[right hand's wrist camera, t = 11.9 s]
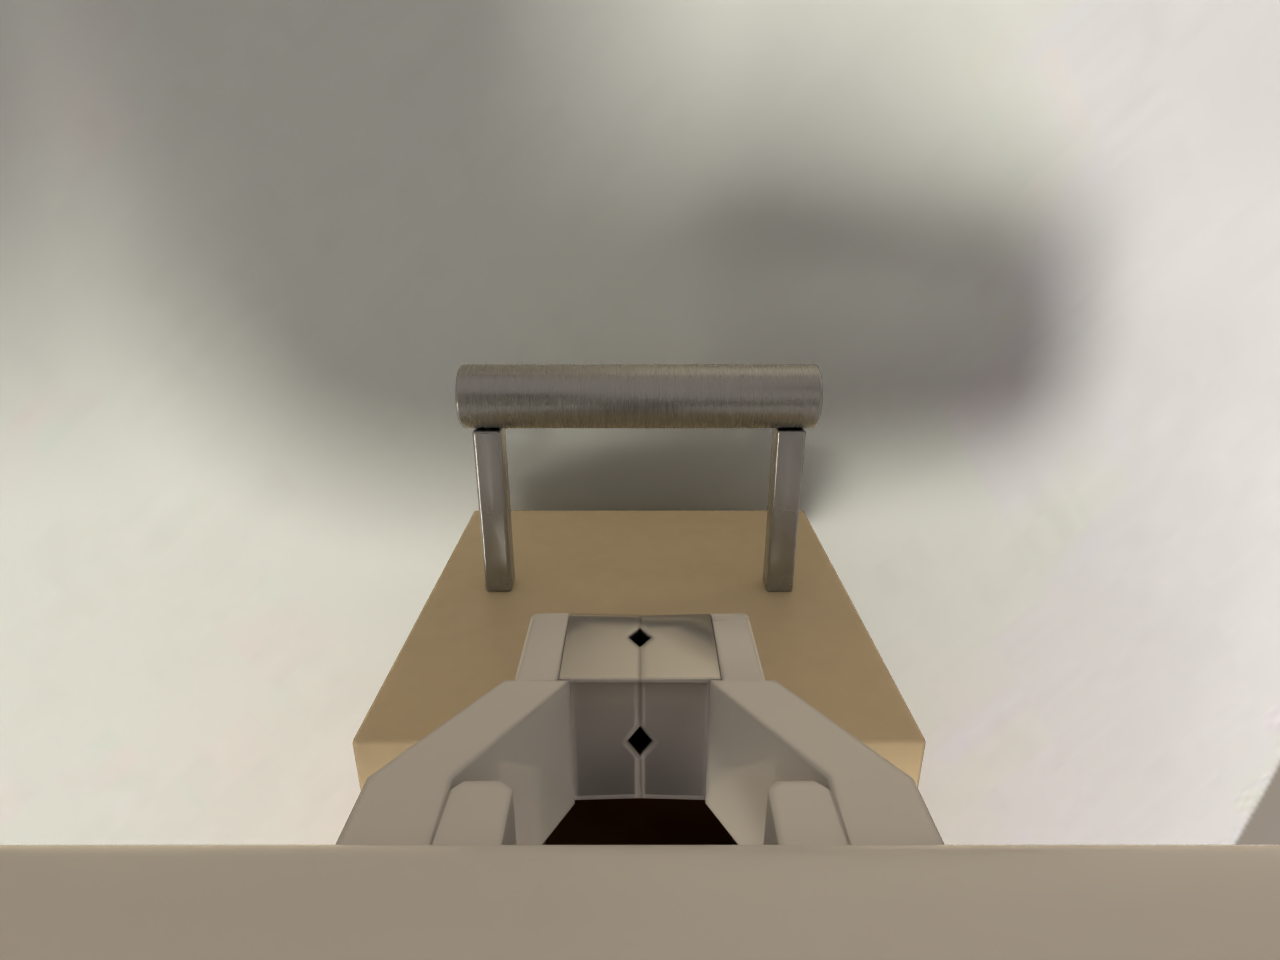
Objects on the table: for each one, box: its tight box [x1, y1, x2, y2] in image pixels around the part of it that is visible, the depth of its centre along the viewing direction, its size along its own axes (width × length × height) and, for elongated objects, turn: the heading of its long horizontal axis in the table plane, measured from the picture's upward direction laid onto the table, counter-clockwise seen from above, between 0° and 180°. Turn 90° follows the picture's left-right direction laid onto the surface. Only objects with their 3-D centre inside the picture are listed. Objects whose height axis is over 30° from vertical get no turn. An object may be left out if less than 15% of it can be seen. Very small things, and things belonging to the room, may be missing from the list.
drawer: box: [353, 365, 925, 845], centre depth 19 cm, size 21×10×10 cm, turn 0°
